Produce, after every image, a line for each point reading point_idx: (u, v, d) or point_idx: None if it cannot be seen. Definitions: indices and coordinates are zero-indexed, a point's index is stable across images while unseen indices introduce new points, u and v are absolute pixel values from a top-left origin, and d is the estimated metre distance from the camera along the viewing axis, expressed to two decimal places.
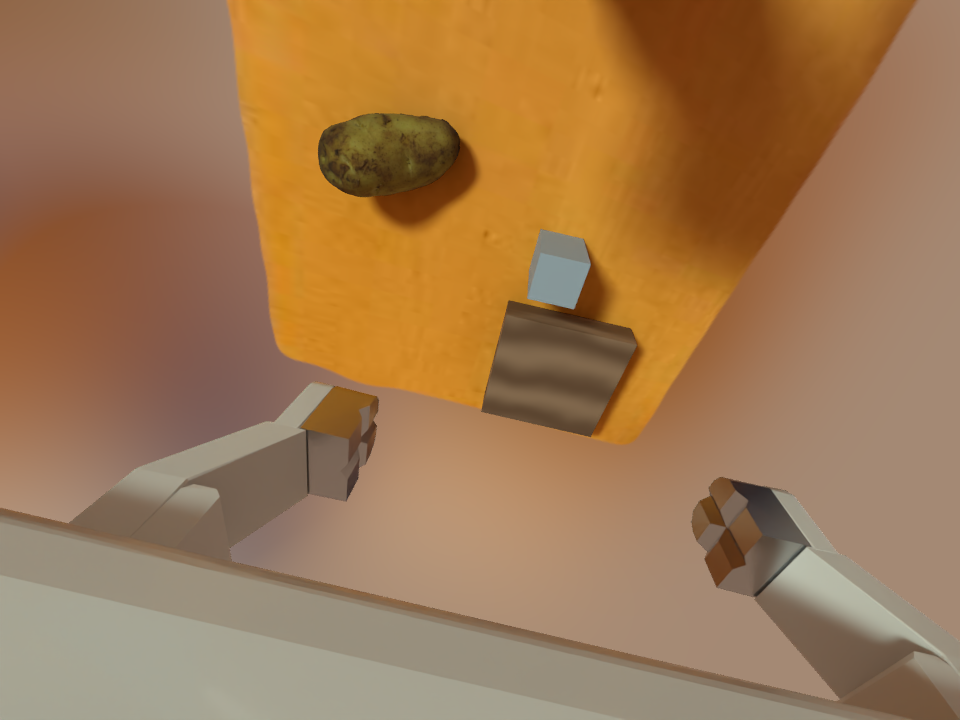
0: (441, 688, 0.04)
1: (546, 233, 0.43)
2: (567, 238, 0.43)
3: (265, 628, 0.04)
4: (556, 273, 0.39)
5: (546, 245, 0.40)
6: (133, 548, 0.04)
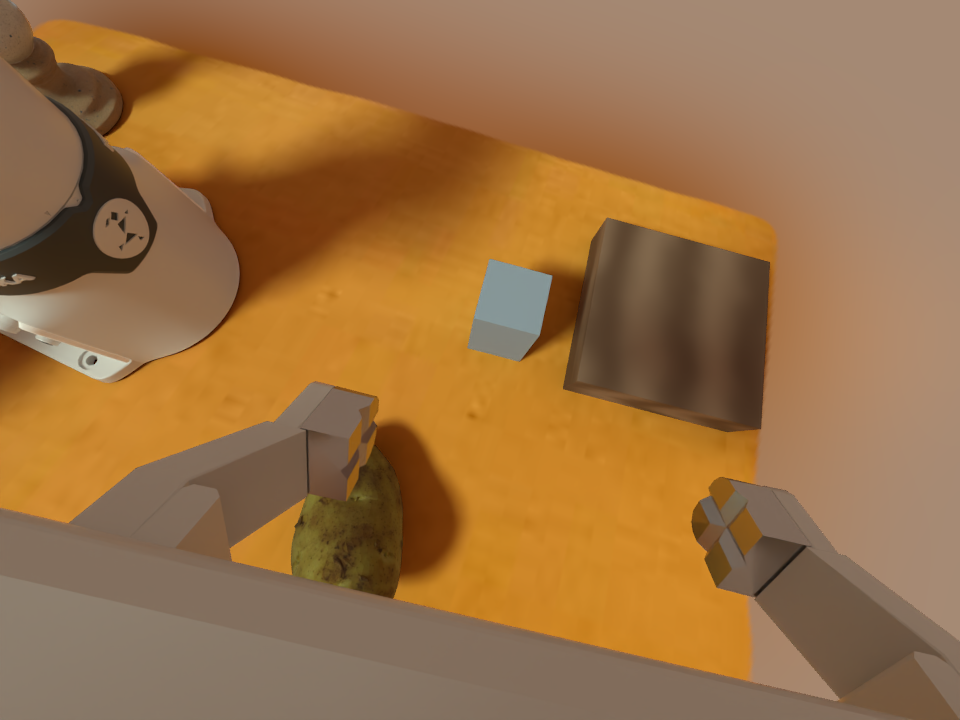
0: (441, 688, 0.04)
1: None
2: None
3: (266, 629, 0.04)
4: (501, 298, 0.29)
5: None
6: (133, 548, 0.04)
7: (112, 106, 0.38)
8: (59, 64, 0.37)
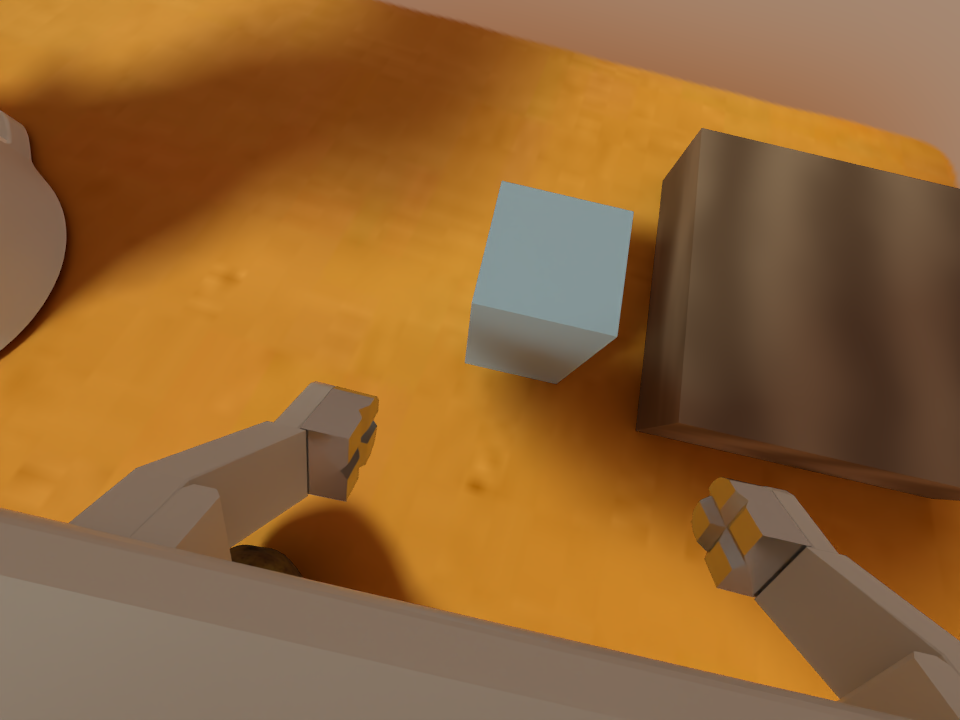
0: (441, 688, 0.04)
1: None
2: None
3: (266, 628, 0.04)
4: (530, 259, 0.14)
5: None
6: (133, 548, 0.04)
7: None
8: None
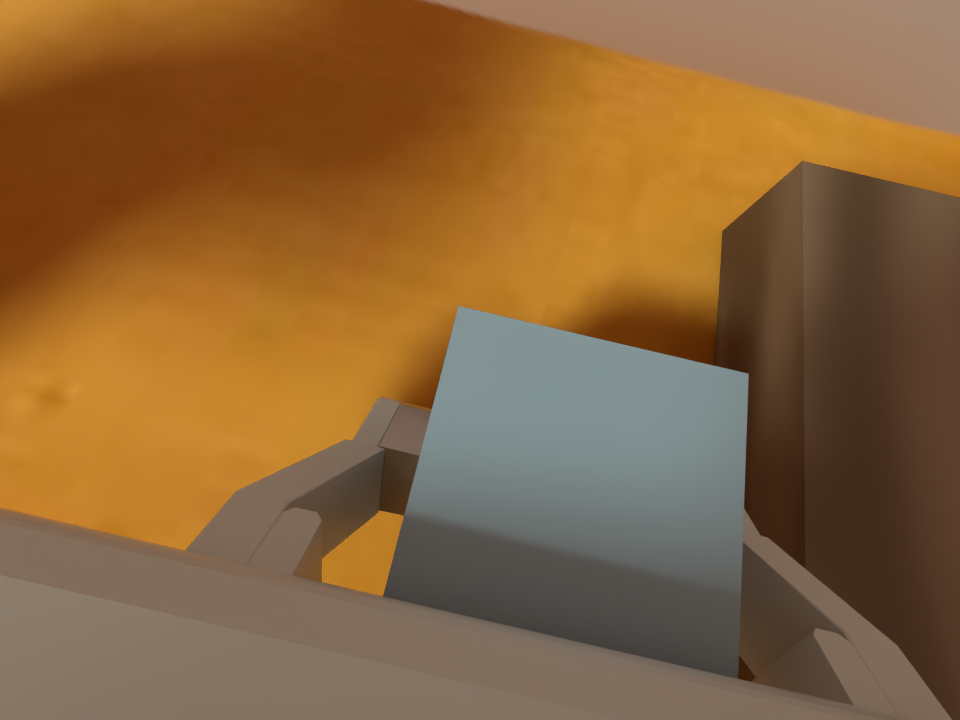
0: (441, 688, 0.04)
1: None
2: None
3: (265, 628, 0.04)
4: (519, 509, 0.06)
5: None
6: (133, 548, 0.04)
7: None
8: None
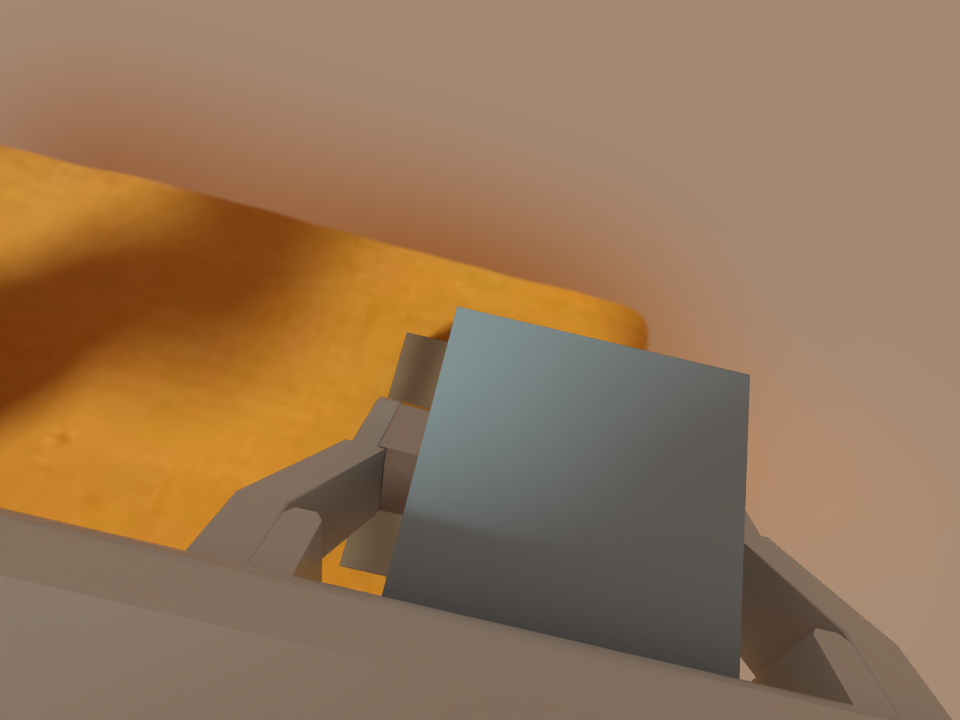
0: (441, 688, 0.04)
1: None
2: None
3: (265, 629, 0.04)
4: (518, 511, 0.06)
5: None
6: (133, 548, 0.04)
7: None
8: None
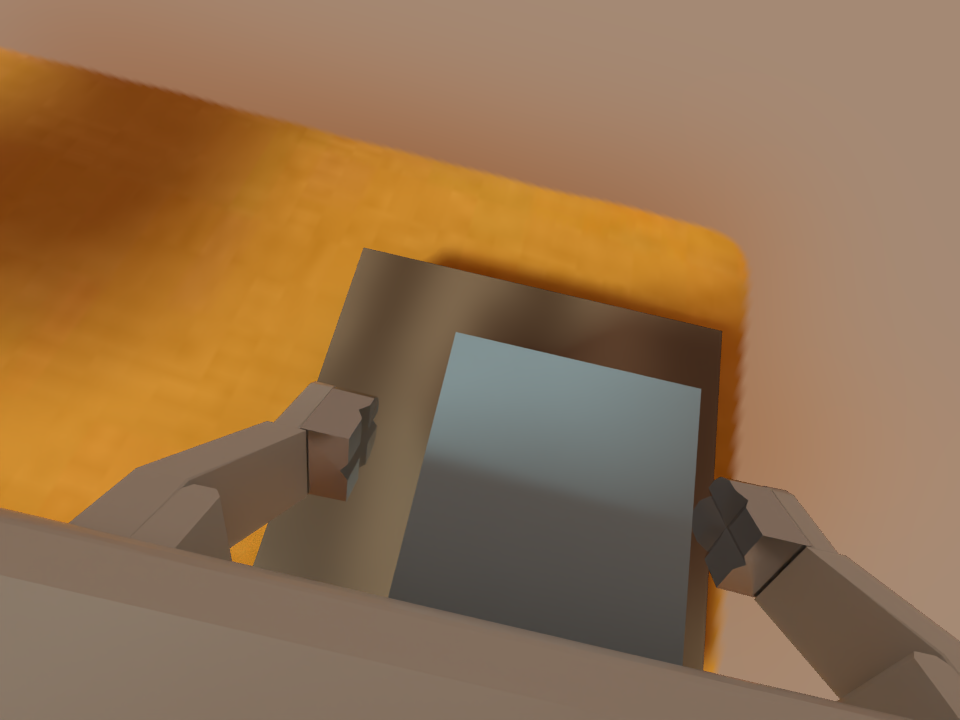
0: (441, 688, 0.04)
1: None
2: None
3: (266, 628, 0.04)
4: (506, 502, 0.07)
5: None
6: (133, 548, 0.04)
7: None
8: None
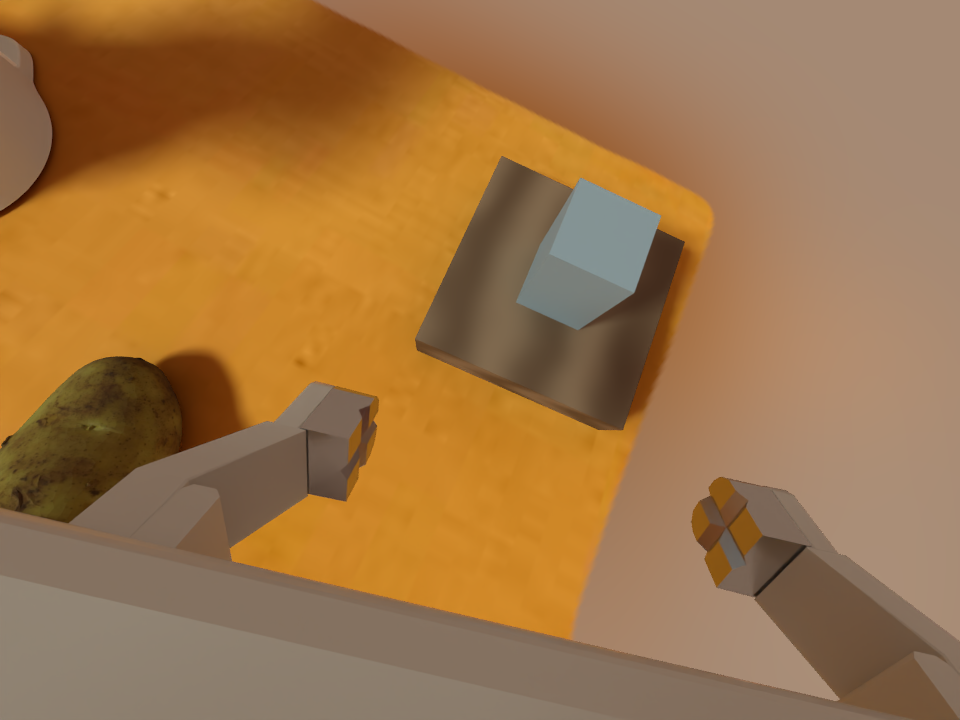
0: (441, 688, 0.04)
1: (523, 288, 0.27)
2: (535, 259, 0.28)
3: (264, 630, 0.04)
4: (590, 233, 0.21)
5: (539, 264, 0.23)
6: (133, 548, 0.04)
7: None
8: None
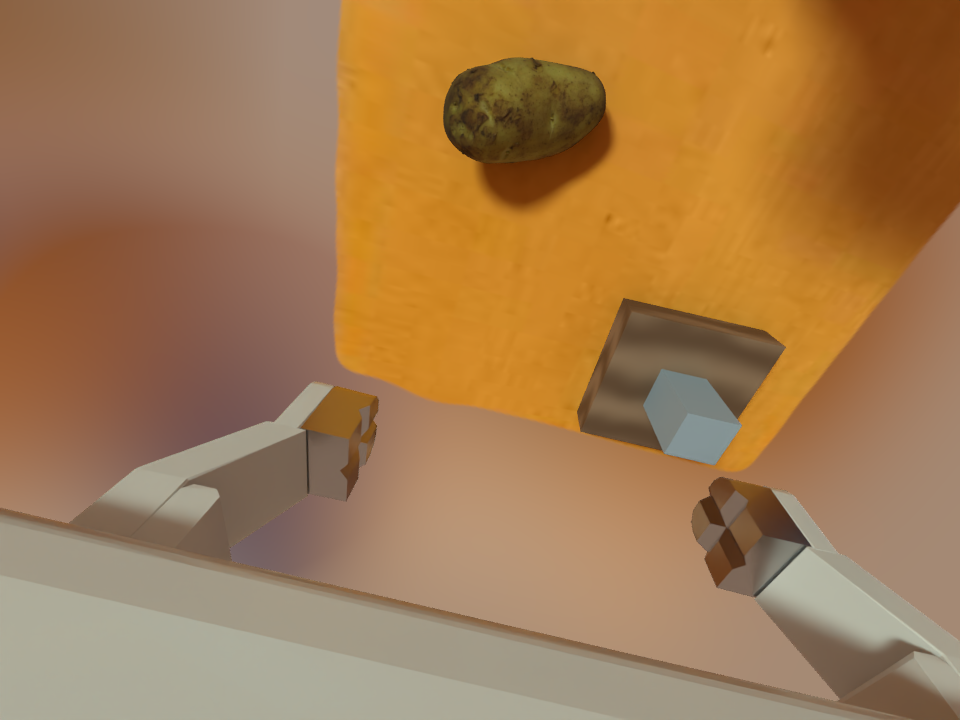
0: (441, 688, 0.04)
1: (671, 375, 0.41)
2: (693, 381, 0.41)
3: (265, 628, 0.04)
4: (701, 432, 0.36)
5: (684, 398, 0.37)
6: (133, 548, 0.04)
7: None
8: None
